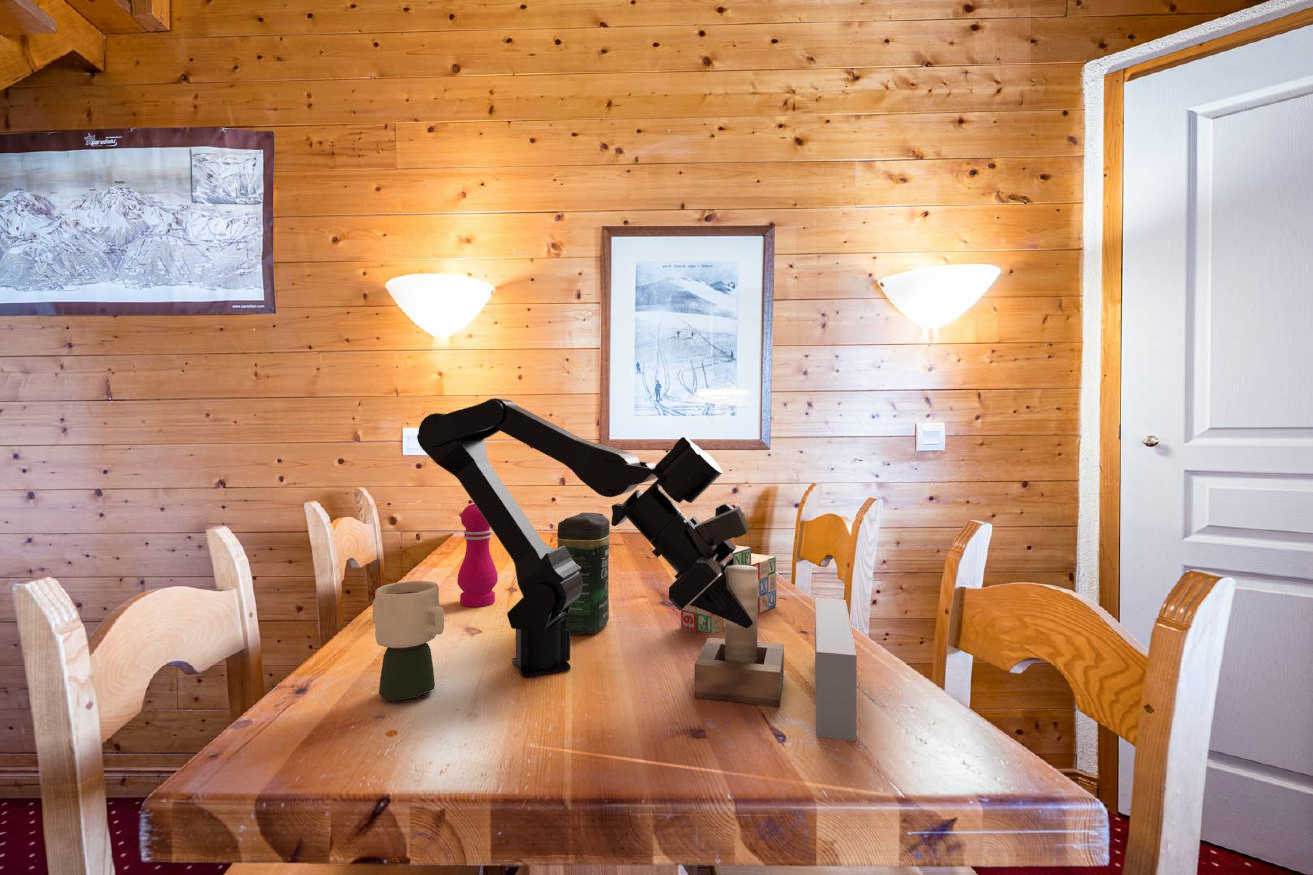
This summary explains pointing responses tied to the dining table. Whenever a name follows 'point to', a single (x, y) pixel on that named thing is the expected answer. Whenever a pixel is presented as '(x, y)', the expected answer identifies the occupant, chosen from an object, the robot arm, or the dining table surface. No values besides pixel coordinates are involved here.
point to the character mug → (407, 636)
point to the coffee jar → (588, 569)
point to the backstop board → (834, 671)
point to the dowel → (746, 590)
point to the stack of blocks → (766, 592)
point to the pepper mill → (476, 561)
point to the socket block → (740, 675)
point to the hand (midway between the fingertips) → (752, 620)
